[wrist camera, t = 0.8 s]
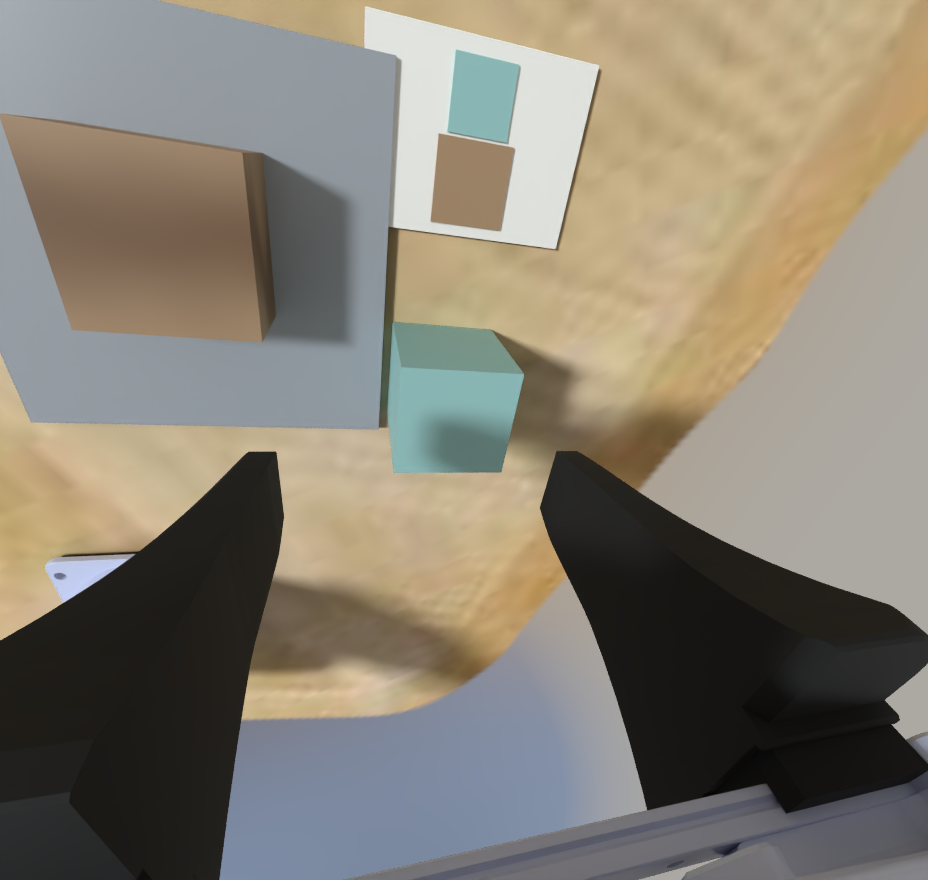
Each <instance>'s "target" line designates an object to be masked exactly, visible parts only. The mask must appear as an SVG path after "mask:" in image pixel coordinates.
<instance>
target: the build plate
mask: <svg viewBox="0 0 928 880" xmlns="http://www.w3.org/2000/svg"><path fill="white" fill-rule="evenodd" d="M395 76H396V55H393V54H388V53H384V52H380V51H375V50H371V49H367V48H362V47H358V46H354V45H349V44H345V43H340V42H336V41H332V40H327V39H323V38H319V37H314V36H310V35H306V34H301V33H297V32H293V31H288V30H284V29H280V28H275V27H271V26H267V25H262V24H258V23H254V22H249V21H245V20H241V19H236V18H232V17H228V16H223V15H219V14H214V13H210V12H206V11H201V10H197V9H193V8H188V7H184V6H180V5H175V4H171V3H167V2H162V1H158V0H0V114H9V115H18V116H27V117H36V118H45V119H54V120H64V121H70V122H77V123H83V124H89V125H95V126H101V127H107V128H113V129H119V130H126V131H132V132H138V133H144V134H150V135H156V136H162V137H168V138H174V139H181V140H187V141H193V142H199V143H205V144H211V145H217V146H223V147H230V148H236V149H242V150H248V151H254V152H260V153H262V155H263V166H264V178H265V190H266V202H267V214H268V226H269V237H270V249H271V261H272V273H273V285H274V297H275V308H276V317H275V319H274V321H273V323H272V325H271V327H270V328H269V330H268V332H267V334H266V336H265V338H264V340H263V342H247V341H231V340H216V339H200V338H185V337H170V336H154V335H139V334H123V333H108V332H92V331H77V330H72V328H71V326H70V323H69V320H68V317H67V314H66V311H65V308H64V305H63V302H62V299H61V296H60V293H59V290H58V287H57V284H56V281H55V279H54V276H53V273H52V270H51V267H50V264H49V261H48V258H47V255H46V252H45V249H44V246H43V243H42V240H41V237H40V234H39V232H38V229H37V226H36V223H35V220H34V217H33V214H32V211H31V208H30V205H29V202H28V199H27V196H26V193H25V190H24V188H23V185H22V182H21V179H20V176H19V173H18V170H17V167H16V164H15V161H14V158H13V155H12V152H11V149H10V146H9V143H8V141H7V138H6V135H5V132H4V129H3V126H2V123H1V120H0V353H1V356H2V358H3V360H4V362H5V365H6V367H7V369H8V371H9V374H10V376H11V378H12V380H13V383H14V385H15V387H16V389H17V392H18V394H19V396H20V398H21V401H22V403H23V405H24V408H25V410H26V412H27V414H28V417H29V419H30V421H31V422H41V423H90V424H138V425H186V426H234V427H282V428H331V429H379V411H380V390H381V369H382V348H383V327H384V306H385V285H386V264H387V243H388V222H389V202H390V181H391V160H392V139H393V118H394V97H395Z"/></svg>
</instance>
